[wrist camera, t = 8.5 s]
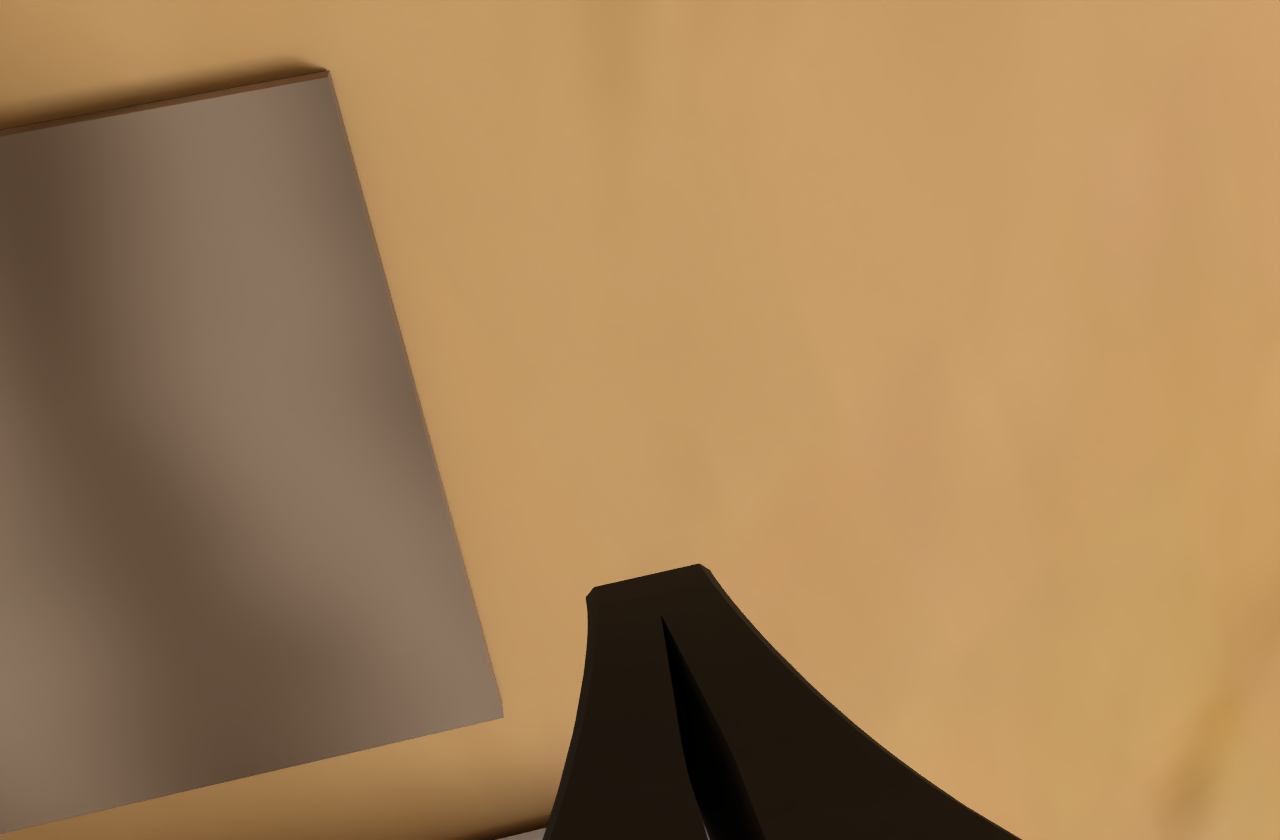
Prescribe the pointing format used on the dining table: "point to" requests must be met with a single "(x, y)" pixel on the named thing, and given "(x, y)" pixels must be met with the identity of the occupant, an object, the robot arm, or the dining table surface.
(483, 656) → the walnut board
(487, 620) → the dining table surface
